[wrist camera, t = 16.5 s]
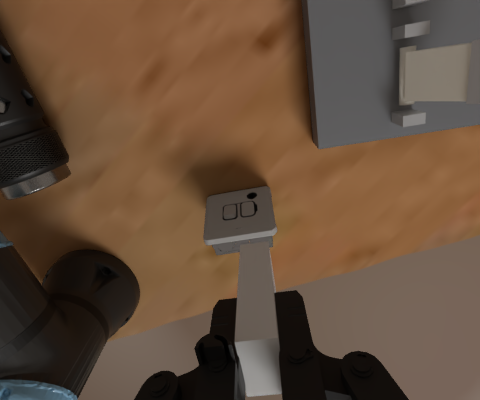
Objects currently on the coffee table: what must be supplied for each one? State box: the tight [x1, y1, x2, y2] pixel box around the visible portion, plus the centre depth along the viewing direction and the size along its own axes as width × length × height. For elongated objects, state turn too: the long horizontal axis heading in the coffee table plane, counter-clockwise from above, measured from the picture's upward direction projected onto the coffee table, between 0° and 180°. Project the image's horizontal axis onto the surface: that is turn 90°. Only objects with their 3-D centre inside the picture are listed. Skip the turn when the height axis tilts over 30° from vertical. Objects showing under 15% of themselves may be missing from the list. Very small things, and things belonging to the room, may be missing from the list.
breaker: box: [399, 39, 480, 105], centre depth 33 cm, size 2×6×10 cm
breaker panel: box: [301, 0, 480, 149], centre depth 35 cm, size 20×26×7 cm
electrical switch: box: [203, 186, 277, 255], centre depth 44 cm, size 9×5×9 cm, turn 101°
